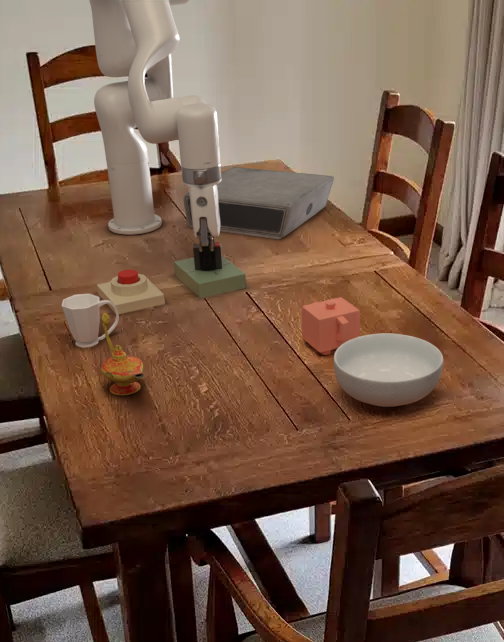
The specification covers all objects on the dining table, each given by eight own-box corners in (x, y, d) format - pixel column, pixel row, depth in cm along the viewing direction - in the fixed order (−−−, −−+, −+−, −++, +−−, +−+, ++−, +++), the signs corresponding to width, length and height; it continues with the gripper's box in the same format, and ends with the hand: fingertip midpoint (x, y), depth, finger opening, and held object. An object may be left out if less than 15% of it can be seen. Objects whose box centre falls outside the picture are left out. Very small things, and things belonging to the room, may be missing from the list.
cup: (63, 339, 174) (55, 298, 170) (114, 327, 178) (108, 286, 173) (74, 354, 169) (67, 312, 164) (127, 341, 173) (121, 299, 168)
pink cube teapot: (332, 327, 173) (332, 284, 169) (365, 352, 164) (366, 308, 160) (294, 336, 171) (293, 293, 166) (325, 362, 162) (325, 317, 157)
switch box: (97, 293, 192) (95, 274, 189) (144, 283, 195) (142, 265, 192) (116, 315, 182) (113, 295, 180) (165, 304, 186) (163, 284, 183)
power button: (115, 280, 187) (114, 271, 186) (135, 276, 189) (134, 267, 188) (122, 287, 184) (121, 278, 183) (141, 283, 186) (140, 274, 185)
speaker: (176, 227, 223) (291, 241, 211) (173, 193, 219) (290, 205, 206) (226, 197, 240) (335, 209, 228) (224, 165, 236) (334, 175, 223)
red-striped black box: (194, 270, 191) (192, 246, 189) (195, 265, 193) (193, 242, 191) (222, 268, 191) (220, 245, 189) (222, 264, 193) (220, 241, 191)
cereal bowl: (365, 432, 143) (366, 390, 138) (315, 386, 155) (315, 346, 151) (461, 405, 148) (465, 364, 144) (405, 363, 160) (407, 324, 156)
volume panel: (174, 275, 198) (173, 260, 196) (219, 266, 201) (217, 251, 199) (200, 298, 187) (198, 283, 185) (246, 288, 190) (245, 273, 189)
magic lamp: (126, 421, 149) (117, 357, 142) (92, 375, 162) (82, 315, 156) (167, 410, 151) (160, 347, 145) (130, 365, 164) (122, 306, 158)
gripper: (219, 185, 175) (226, 281, 186) (222, 161, 188) (228, 251, 199) (179, 187, 175) (187, 282, 186) (184, 163, 188) (192, 253, 199)
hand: (208, 265), depth 192 cm, fingers closed on red-striped black box, 2 cm apart
